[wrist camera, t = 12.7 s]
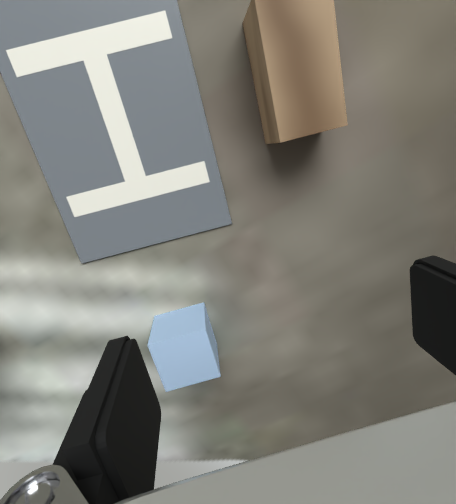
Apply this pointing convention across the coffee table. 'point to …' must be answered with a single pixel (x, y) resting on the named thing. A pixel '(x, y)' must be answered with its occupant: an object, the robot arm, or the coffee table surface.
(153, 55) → the letter card
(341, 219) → the coffee table surface
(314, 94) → the walnut block
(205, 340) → the blue cube
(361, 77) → the coffee table surface
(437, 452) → the robot arm
